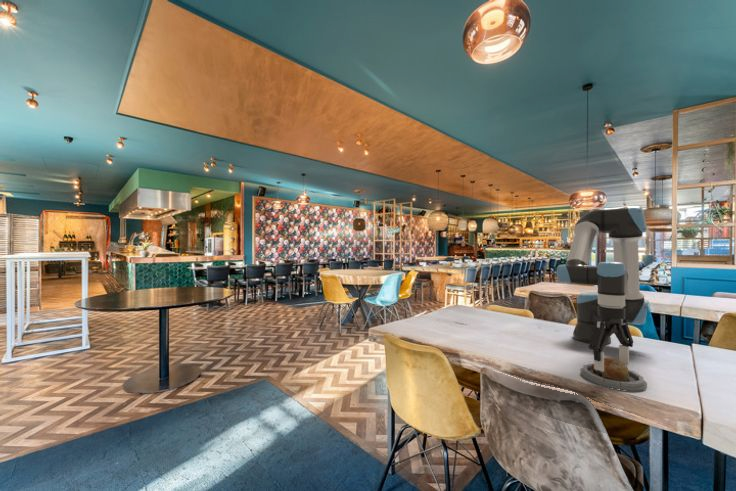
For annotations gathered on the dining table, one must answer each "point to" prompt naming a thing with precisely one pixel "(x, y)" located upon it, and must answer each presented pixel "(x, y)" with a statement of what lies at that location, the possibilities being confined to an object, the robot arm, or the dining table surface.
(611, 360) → the bread roll
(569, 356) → the dining table surface
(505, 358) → the dining table surface
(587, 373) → the slate plate
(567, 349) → the dining table surface
